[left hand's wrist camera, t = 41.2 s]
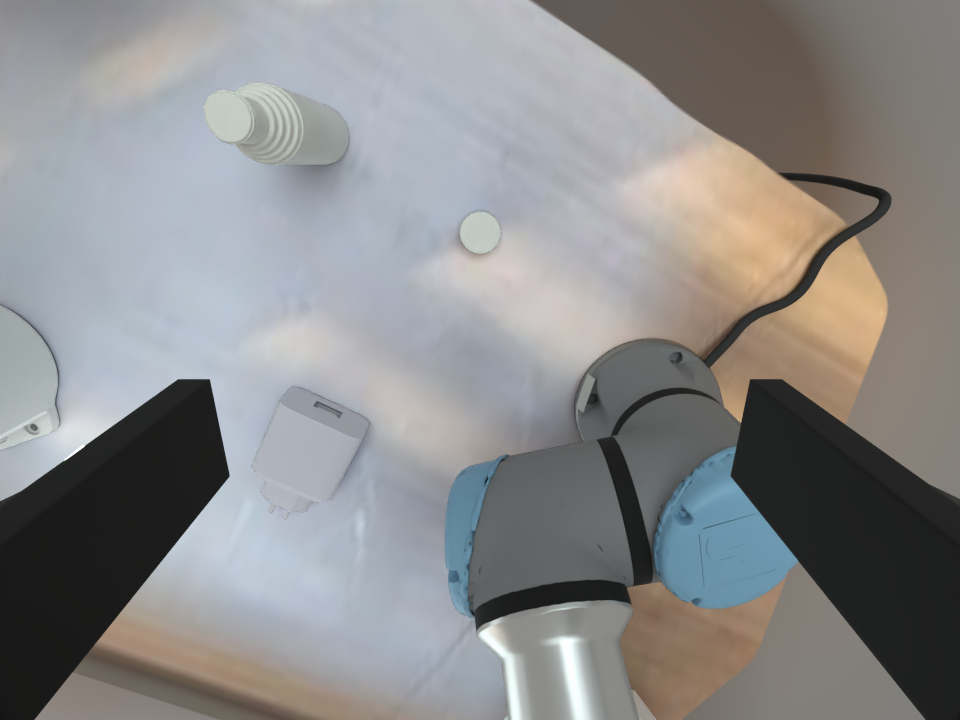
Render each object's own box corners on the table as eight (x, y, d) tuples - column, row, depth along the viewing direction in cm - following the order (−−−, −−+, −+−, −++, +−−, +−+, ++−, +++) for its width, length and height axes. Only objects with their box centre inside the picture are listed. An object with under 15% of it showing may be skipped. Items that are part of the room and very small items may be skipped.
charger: (247, 486, 60) (293, 383, 55) (320, 517, 62) (371, 419, 57) (229, 512, 56) (277, 402, 51) (308, 544, 57) (362, 441, 52)
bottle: (356, 118, 46) (281, 90, 29) (340, 173, 48) (260, 178, 30) (301, 94, 45) (191, 50, 28) (287, 151, 47) (174, 143, 30)
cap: (457, 245, 50) (456, 248, 48) (465, 206, 49) (464, 207, 47) (494, 254, 51) (495, 257, 49) (503, 215, 49) (504, 217, 47)
